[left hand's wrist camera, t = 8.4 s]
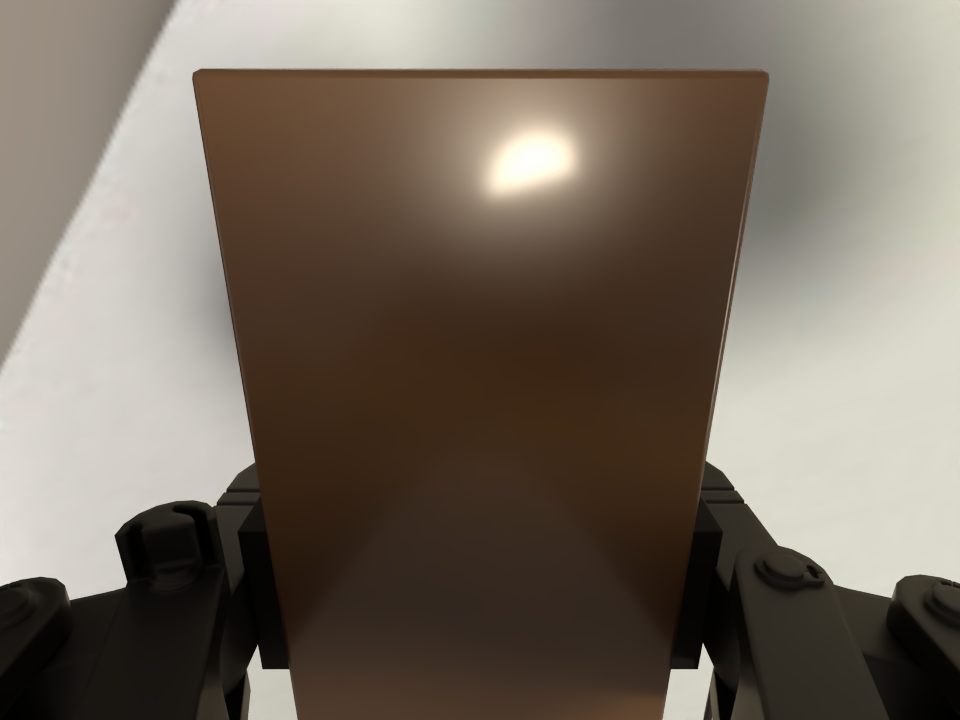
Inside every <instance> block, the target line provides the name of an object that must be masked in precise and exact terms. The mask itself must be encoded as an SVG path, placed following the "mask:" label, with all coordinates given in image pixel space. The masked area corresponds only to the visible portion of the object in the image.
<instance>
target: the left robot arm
mask: <svg viewBox="0 0 960 720" xmlns="http://www.w3.org/2000/svg"><path fill="white" fill-rule="evenodd" d="M115 539H116V543H117V546H118V550H119V554H120V557H121V561H122V564H123V568H124V571H125V575H126V579H127V585H126V587H125V588H122V589H118V590H115V591H110V592H106V593H101V594H97V595H92V596H88V597H83V598H78V599H74V600H69V597H68V594H67V591H66V588H65V585H64V584H62V583H61V582H60V581H58V580H57V579H54V578H46V577H36V578H30V579H23V580H19V581H16V582H12V583H10V584H6V585H3V586H1V587H0V720H248V711H249V701H250V684H249V678H248V673H247V667H248V665H249V663H250V661H251V658H252V656H253V654H254V652H255V649H256V647H257V645H258V647H259V652H260V658H261V663H262V668H263V669H289V663H288V657H287V651H286V645H285V639H284V633H283V627H282V621H281V615H280V609H279V603H278V597H277V591H276V585H275V578H274V572H273V566H272V560H271V554H270V548H269V542H268V536H267V530H266V524H265V518H264V512H263V506H262V500H261V493H260V487H259V481H258V475H257V469H256V463H254V464H252V465H251V466H249V467H248V468H246V469H245V470H243V471H242V472H240V473H239V474H238V475H237V476H236V477H235V479H234V480H233V481H232V483H231V484H230V485H229V487H228V488H227V491H226V493H223V495H222V496H221V497H220V499H219V500H218V501H217V505H216V506H214V507H213V508H212V507H211V506H210V505H209V504H207V503H203V502H199V501H194V500H191V501H175V502H171V503H167V504H163V505H159V506H156V507H153V508H151V509H149V510H146V511H144V512H142V513H140V514H138V515H136V516H135V517H133V518H132V519H131V520H129V521H128V522H126V523H125V524H124V525H123V526H122V527H121V528H120V529H119V531H118V532H117V533H116V534H115ZM702 644H704V646H705V648H706V650H707V652H708V655H709V657H710V659H711V661H712V663H713V666H714V668H713V673H712V678H711V683H710V688H709V693H708V698H707V703H706V708H705V713H704V720H712V719H713V720H960V584H959V583H957V582H952V581H951V580H947V579H944V578H940V577H934V576H927V575H913V576H905V577H904V578H903V579H901V580H900V581H899V582H897V584H896V587H895V590H894V593H893V596H892V598H888V597H884V596H879V595H874V594H870V593H865V592H861V591H856V590H852V589H847V588H844V587H840V586H837V585H834V584H833V582H832V580H831V579H830V577H829V576H828V574H827V573H826V571H825V570H824V569H823V568H822V567H820V566H819V565H818V564H817V563H815V562H814V561H813V560H812V559H810V558H809V557H807V556H805V555H802V554H800V553H798V552H796V551H794V550H792V549H789V548H785V547H781V546H778V545H777V543H776V542H775V541H774V539H773V538H772V537H771V535H770V534H769V533H768V532H767V530H766V529H765V528H764V526H763V525H762V524H761V522H760V521H759V520H758V518H757V517H756V516H755V514H754V513H753V512H752V510H751V509H750V508H749V506H748V505H747V504H744V500H743V498H742V497H741V496H740V494H739V493H738V492H737V491H735V490H734V486H733V485H732V484H731V483H730V481H729V480H728V479H727V477H726V476H725V475H724V473H723V472H722V471H720V470H719V469H717V468H716V467H714V466H713V465H711V464H710V463H708V462H707V461H705V467H704V473H703V479H702V485H701V491H700V497H699V503H698V509H697V515H696V521H695V527H694V533H693V539H692V545H691V551H690V557H689V563H688V569H687V575H686V581H685V587H684V593H683V599H682V605H681V611H680V617H679V623H678V629H677V635H676V641H675V647H674V653H673V659H672V665H671V669H698V665H699V660H700V655H701V649H702Z"/></svg>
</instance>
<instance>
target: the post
mask: <svg viewBox="0 0 960 720" xmlns="http://www.w3.org/2000/svg"><path fill="white" fill-rule="evenodd" d="M192 81H193V87H194V93H195V99H196V105H197V111H198V117H199V123H200V129H201V135H202V141H203V147H204V153H205V159H206V166H207V172H208V178H209V184H210V190H211V196H212V202H213V208H214V214H215V220H216V226H217V232H218V238H219V244H220V251H221V257H222V263H223V269H224V275H225V281H226V287H227V293H228V299H229V305H230V311H231V317H232V323H233V329H234V336H235V342H236V348H237V354H238V360H239V366H240V372H241V378H242V384H243V390H244V396H245V402H246V408H247V415H248V421H249V427H250V433H251V439H252V445H253V451H254V457H255V463H256V469H257V475H258V481H259V487H260V493H261V500H262V506H263V512H264V518H265V524H266V530H267V536H268V542H269V548H270V554H271V560H272V566H273V572H274V578H275V585H276V591H277V597H278V603H279V609H280V615H281V621H282V627H283V633H284V639H285V645H286V651H287V657H288V663H289V670H290V676H291V682H292V688H293V694H294V700H295V706H296V712H297V718H298V720H662V719H663V713H664V707H665V701H666V695H667V689H668V683H669V677H670V671H671V665H672V659H673V653H674V647H675V641H676V635H677V629H678V623H679V617H680V611H681V605H682V599H683V593H684V587H685V581H686V575H687V569H688V563H689V557H690V551H691V545H692V539H693V533H694V527H695V521H696V515H697V509H698V503H699V497H700V491H701V485H702V479H703V473H704V467H705V461H706V455H707V449H708V443H709V437H710V431H711V425H712V419H713V413H714V407H715V401H716V395H717V389H718V383H719V377H720V371H721V365H722V359H723V353H724V347H725V341H726V335H727V329H728V323H729V317H730V311H731V305H732V299H733V293H734V287H735V281H736V275H737V269H738V263H739V257H740V251H741V245H742V239H743V233H744V227H745V221H746V215H747V209H748V203H749V197H750V191H751V185H752V179H753V173H754V167H755V161H756V155H757V149H758V143H759V137H760V131H761V125H762V119H763V113H764V107H765V101H766V95H767V89H768V83H769V75H768V73H767V72H765V71H763V70H761V69H200V70H198V71H196V72H194V73H193V78H192Z"/></svg>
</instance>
